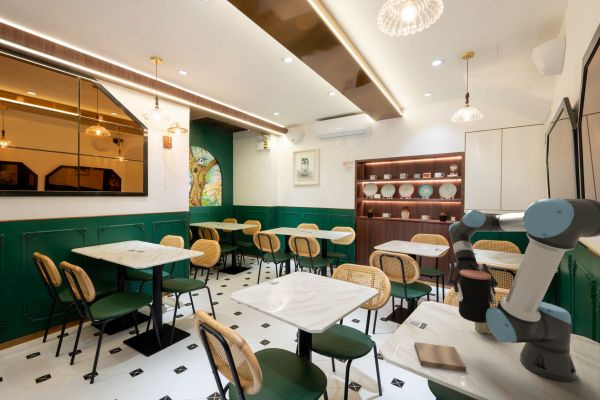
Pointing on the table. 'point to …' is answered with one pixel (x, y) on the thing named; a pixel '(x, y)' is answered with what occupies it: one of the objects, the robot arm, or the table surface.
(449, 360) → the walnut board
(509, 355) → the table surface
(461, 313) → the coffee jar
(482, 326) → the flower pot
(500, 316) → the robot arm
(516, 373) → the table surface
